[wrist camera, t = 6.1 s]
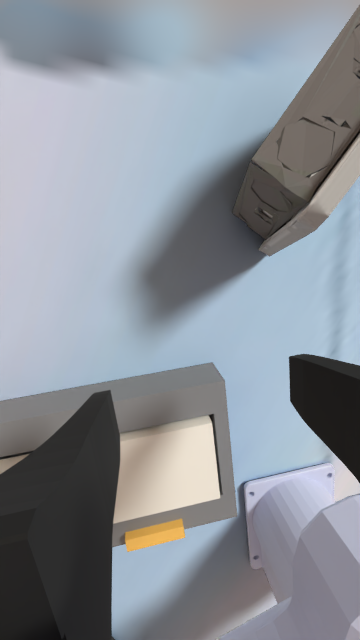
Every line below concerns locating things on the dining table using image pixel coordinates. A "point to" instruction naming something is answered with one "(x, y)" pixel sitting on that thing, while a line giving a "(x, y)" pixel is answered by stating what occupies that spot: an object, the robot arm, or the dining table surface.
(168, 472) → the right button
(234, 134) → the dining table surface
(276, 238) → the electrical switch
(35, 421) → the switch unit
